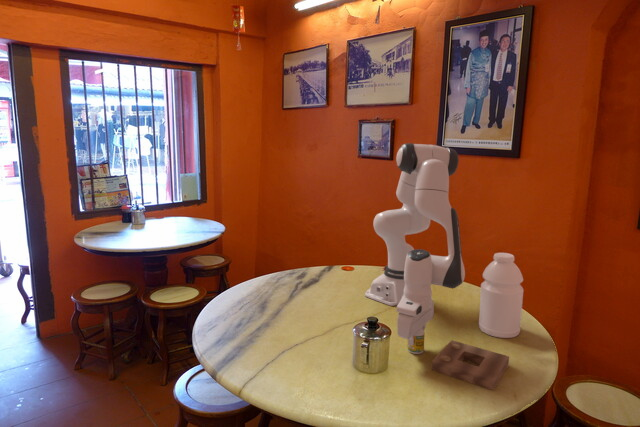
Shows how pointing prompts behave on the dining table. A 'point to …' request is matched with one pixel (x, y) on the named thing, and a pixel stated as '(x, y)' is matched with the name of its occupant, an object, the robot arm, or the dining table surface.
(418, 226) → the robot arm
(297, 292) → the dining table surface
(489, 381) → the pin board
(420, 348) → the supplement bottle
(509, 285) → the bottle
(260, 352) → the dining table surface
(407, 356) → the dining table surface
